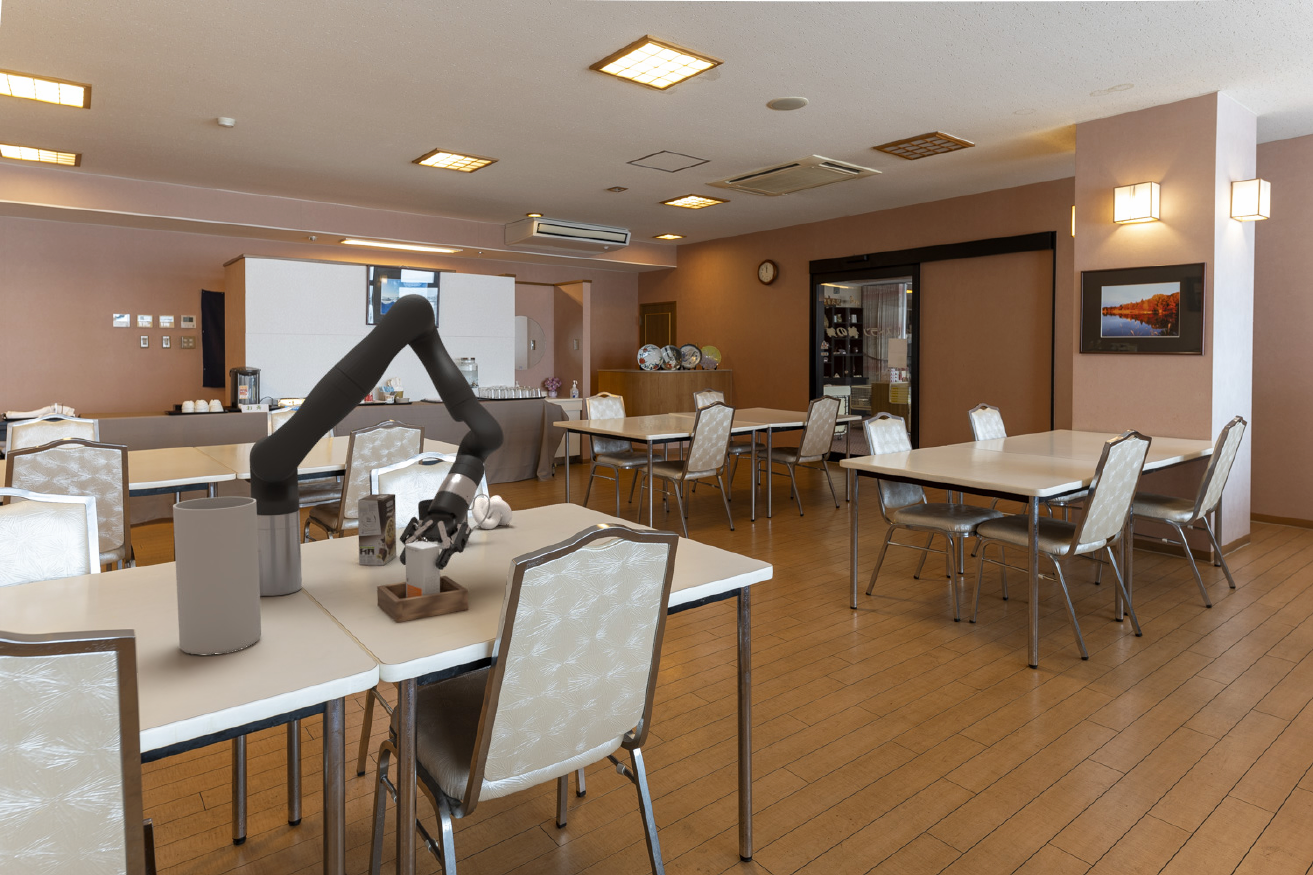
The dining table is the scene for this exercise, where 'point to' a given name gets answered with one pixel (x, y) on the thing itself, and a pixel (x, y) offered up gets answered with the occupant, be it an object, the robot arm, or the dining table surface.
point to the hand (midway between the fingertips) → (420, 565)
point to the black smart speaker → (424, 510)
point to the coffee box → (377, 529)
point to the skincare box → (422, 569)
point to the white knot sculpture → (491, 512)
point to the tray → (421, 600)
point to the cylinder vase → (217, 574)
